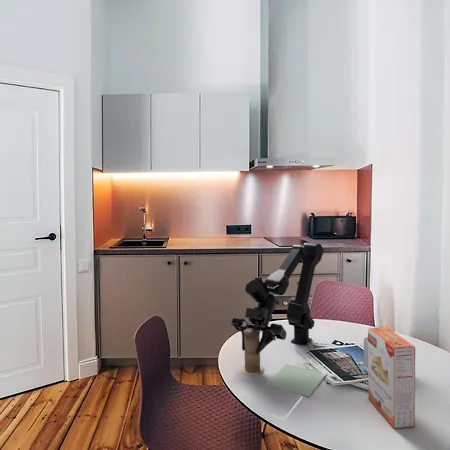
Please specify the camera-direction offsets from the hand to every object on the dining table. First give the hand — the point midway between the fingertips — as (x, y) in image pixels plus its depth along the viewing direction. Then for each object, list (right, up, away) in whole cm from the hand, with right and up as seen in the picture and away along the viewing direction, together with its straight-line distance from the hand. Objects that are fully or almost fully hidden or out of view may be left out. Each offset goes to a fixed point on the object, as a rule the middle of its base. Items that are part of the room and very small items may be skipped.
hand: (250, 351), depth 127 cm
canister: (+1, -6, +2) cm, 7 cm away
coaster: (+1, -7, +2) cm, 7 cm away
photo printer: (+42, -6, +1) cm, 42 cm away
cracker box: (+35, -8, -25) cm, 44 cm away
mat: (+14, -7, -5) cm, 17 cm away
